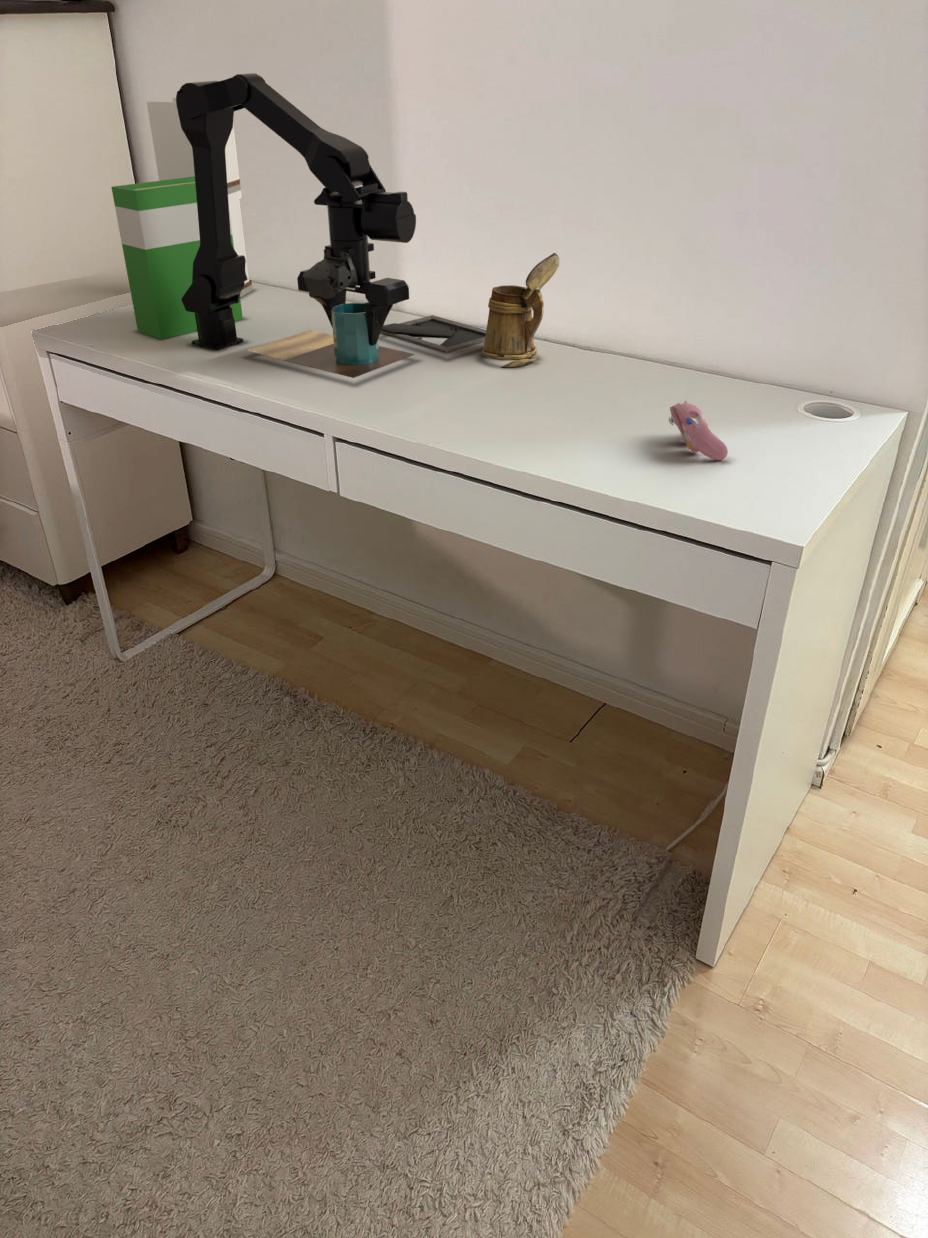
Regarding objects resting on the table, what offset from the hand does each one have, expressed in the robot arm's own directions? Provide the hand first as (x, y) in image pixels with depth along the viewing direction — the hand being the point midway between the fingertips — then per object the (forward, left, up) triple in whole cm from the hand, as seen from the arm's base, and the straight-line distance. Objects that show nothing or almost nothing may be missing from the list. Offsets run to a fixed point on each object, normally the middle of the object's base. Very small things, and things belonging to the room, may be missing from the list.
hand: (355, 341), depth 152 cm
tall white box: (-55, +18, -4) cm, 58 cm away
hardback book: (-41, 0, -4) cm, 41 cm away
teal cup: (0, 0, -3) cm, 3 cm away
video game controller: (+59, 0, -4) cm, 59 cm away
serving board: (-6, 0, -4) cm, 7 cm away
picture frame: (+2, +19, -4) cm, 20 cm away
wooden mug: (+20, +17, -4) cm, 27 cm away
